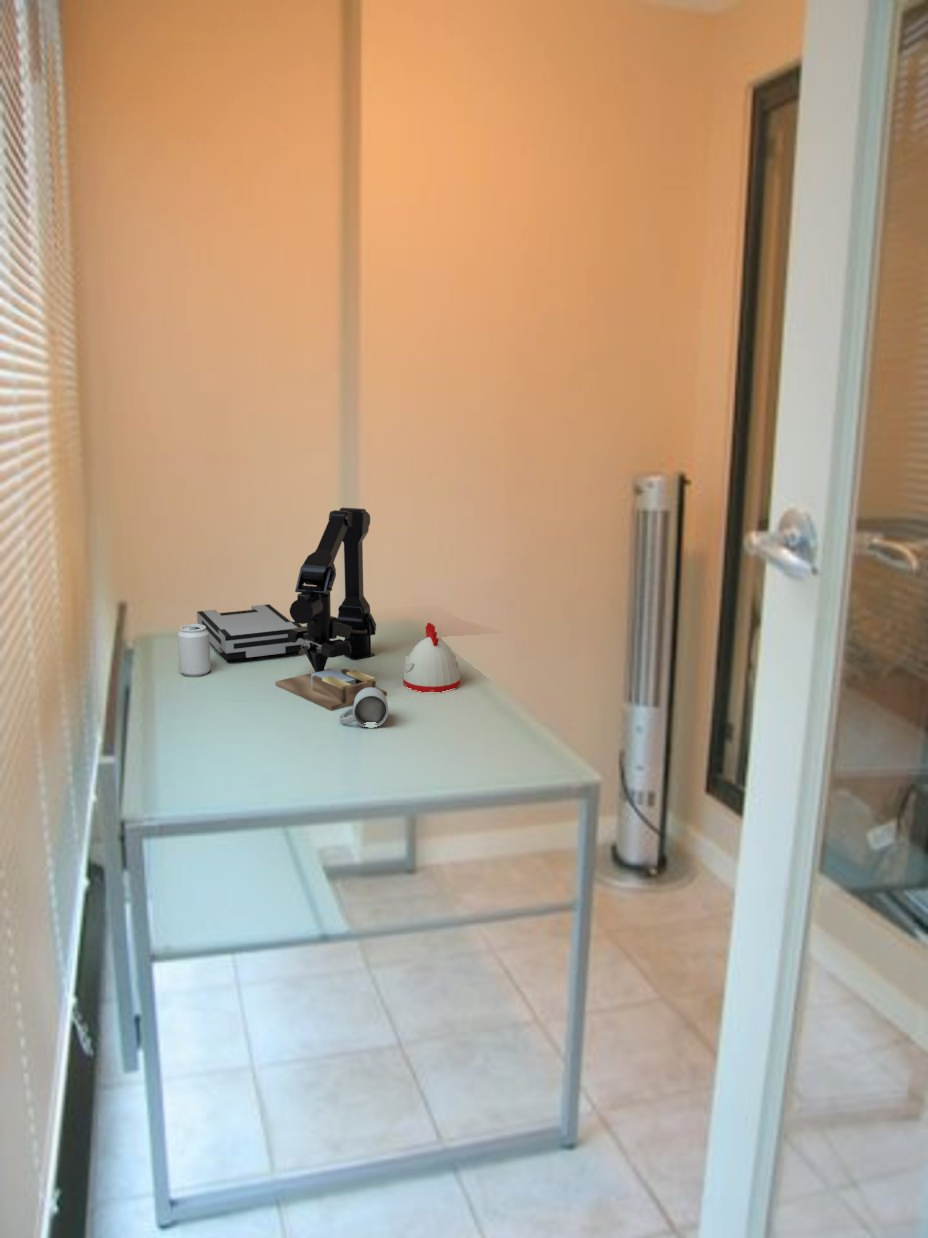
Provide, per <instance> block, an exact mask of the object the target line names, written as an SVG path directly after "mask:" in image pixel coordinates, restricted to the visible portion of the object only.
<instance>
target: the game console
mask: <svg viewBox="0 0 928 1238" xmlns="http://www.w3.org/2000/svg"><path fill="white" fill-rule="evenodd" d="M196 621H197V623H196V624H201V625H204V626H206V630H207V631H208V632H209V643H210V646H212V648H213V649H214V650H215V651H216V652H217V653H218V654H219V656H221V658H222V659H223V660H224V661H225V662H226V663H227V664H233V663H240V662H248V661H249V662H250V661H251V660H252V659H251V658H254V657H263V656H270V655H271V656H272V655H274V656H276V658H281V657H289V656H295V655H296V656H298V655H300V652H301V651H302V649H301V647H302V645H304V641H303V639H301V638H299V639H298V640H297V641H296V642H295V643H293V642H291V641H288V632H289V631H290V630H291V629H294V628H299V627H304V626H303V625H302V624H300V623H297V622H295V621H294V620H293V621H291V620H290V619H288V618H287V617H286V616H285V615H284V614H283V613H281V612H280V611H278V610H277V609H276V608H275V607H273V606H272V605H271V604H270V603H269V604H260V605H257V604H256V605H251V609H246V610H237V611H236V610H235V611H229V612H228V611H227V612H218V611H217V610H216V609H211V610H210V609H209V610H208V609H207V610H201V611H200V610H199V611H196Z"/></svg>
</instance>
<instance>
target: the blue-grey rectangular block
mask: <svg viewBox="0 0 928 1238" xmlns="http://www.w3.org/2000/svg"><path fill="white" fill-rule="evenodd" d="M328 669H329V670H326V669H324V670H325V671H320V672H316V673H313V672H310V673H311V685H312V676H318V677H320V678H325V677H329V676H332V677H334V678H337V679H339V680H342V681H344V682H346V683H349V684H351V685H354V684H356V679H354V678H352V677H349V676H347V675H345V674H343V673H342V671H338V670H336V669H334V668H328ZM312 686H313V685H312Z"/></svg>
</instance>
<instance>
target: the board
mask: <svg viewBox="0 0 928 1238" xmlns="http://www.w3.org/2000/svg"><path fill="white" fill-rule="evenodd" d="M329 669H330V668H326V669H324V671H325V670H329ZM311 673H315V671H313V672H309V673H305V674H302V675H298V676H297V675H296V676H293V677H288V678H285V679H284V678H283V679H280V680H276V681H275V686H276V687H278V688H281V689H282V690H285V691H287V692H289V693H291V694H293V695H296V696H298V697H301V698H303V699H304V700H307V701H309V702H311V703H313V704H315V705H318V706H320V707H322V708H324V709H327V710H329V711H330V712H331V711H334V710H338V709H339V710H340V709H342V708H347V707H350V706H354V700H355V697H356V695H357V694H358V693H359V692H360V691H361V690H362V689H365V688H369V687H373V688H377V689H379V690H380V691H381V692H382V693H383V694H384V695H385V697H387V695H388V694H387V693H388V692H387V691H386V690H384V689H381V688H378V687H377V686H376V683H377V682H376V681H377V680H376V679H377V678H376V677H373V676H370V675H369V674H366V673H363V672H360V671H358V670H356V669H355V670H350V669H347V668H342V669H341V673H343V674H345V675H347V676H349V677H352V678H354V679H356V684H354V685H351V684H349V683H346V682H344V681H342V680H339V679H337V678H334V677H332V676H329V677H325V678H320V677H318V676H312V685H313V686H312V685H311Z"/></svg>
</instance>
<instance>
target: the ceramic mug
mask: <svg viewBox="0 0 928 1238" xmlns="http://www.w3.org/2000/svg"><path fill="white" fill-rule="evenodd" d="M377 688H378V687H377ZM377 688H373V687H369V688H365V689H362V690H361V691H360V692H359V693H358V694H357V695H356V697H355V700H354V705H353V706H352V707H350V708H348V709H346V710H344V711H343V712H342V713H341V714H339V716H338V719H339V721H340V723H341V724H342V725H349V724H352V723H353V722H356V724H358V725H359V726H360V727H362V728H364V727H365V725H366V724H364V723H366V722H376V723H377V724H375V725H377V726H379V727H380V726H382V725H383V724H384V723H385V722H386V721H387V718H388V715H389V707H388V706H389V705H388V701H387V696H385V695H384V694H383V693H382V692H381V691H380V690H379V689H380V688H379V689H377Z"/></svg>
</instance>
